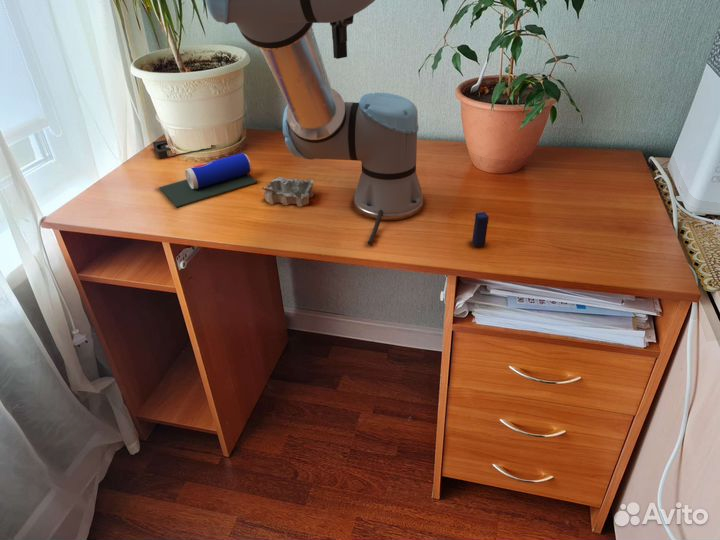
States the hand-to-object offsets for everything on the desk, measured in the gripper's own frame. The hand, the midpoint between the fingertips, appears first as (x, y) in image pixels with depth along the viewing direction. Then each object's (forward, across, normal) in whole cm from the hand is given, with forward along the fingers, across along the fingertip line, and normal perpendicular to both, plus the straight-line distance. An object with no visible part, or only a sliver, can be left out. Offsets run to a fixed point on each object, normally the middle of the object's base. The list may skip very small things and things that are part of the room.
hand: (340, 57), depth 118 cm
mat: (+26, +11, +33) cm, 43 cm away
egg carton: (+27, -7, +20) cm, 34 cm away
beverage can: (+23, +11, +22) cm, 34 cm away
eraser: (+27, -47, +1) cm, 54 cm away
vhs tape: (+27, +38, +29) cm, 54 cm away
